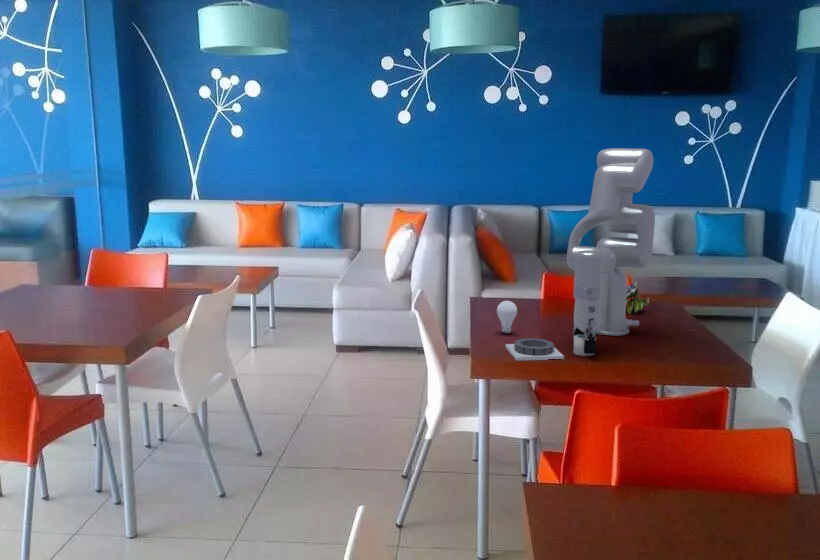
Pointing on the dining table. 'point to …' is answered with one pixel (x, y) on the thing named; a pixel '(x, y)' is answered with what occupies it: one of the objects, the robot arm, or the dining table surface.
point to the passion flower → (634, 299)
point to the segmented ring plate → (533, 350)
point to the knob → (580, 345)
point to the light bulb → (506, 315)
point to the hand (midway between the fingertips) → (583, 348)
